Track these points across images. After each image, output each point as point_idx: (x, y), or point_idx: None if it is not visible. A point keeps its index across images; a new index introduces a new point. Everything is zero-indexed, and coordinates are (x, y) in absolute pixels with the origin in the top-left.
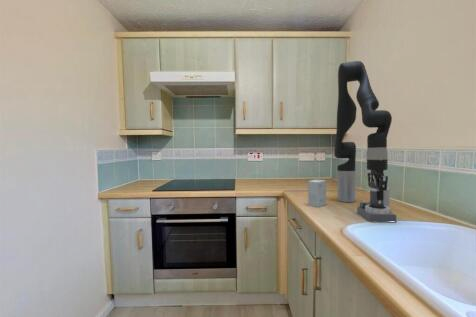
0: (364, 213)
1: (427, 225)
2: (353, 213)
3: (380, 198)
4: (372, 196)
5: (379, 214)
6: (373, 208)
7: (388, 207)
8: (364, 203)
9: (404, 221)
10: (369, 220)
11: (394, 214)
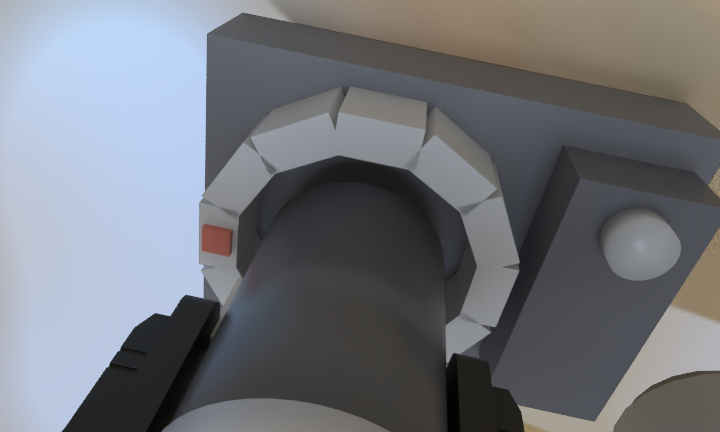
0: (403, 63)
1: None
2: (682, 31)
3: (141, 337)
4: (276, 304)
5: (216, 167)
6: (258, 161)
7: None
8: (603, 225)
9: None
10: (236, 16)
11: (220, 309)
